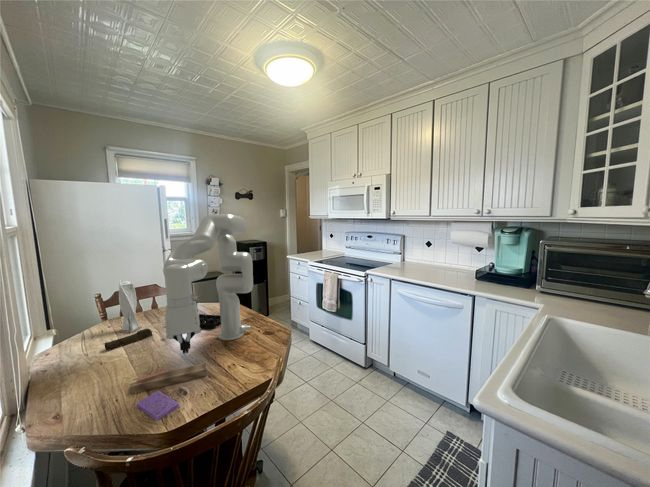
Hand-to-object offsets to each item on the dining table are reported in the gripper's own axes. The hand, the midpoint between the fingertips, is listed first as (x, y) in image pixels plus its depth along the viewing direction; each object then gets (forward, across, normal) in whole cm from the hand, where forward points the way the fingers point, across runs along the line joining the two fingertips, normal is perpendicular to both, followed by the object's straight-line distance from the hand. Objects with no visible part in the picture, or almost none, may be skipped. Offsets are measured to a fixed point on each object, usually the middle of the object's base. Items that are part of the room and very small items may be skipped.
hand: (185, 351), depth 92 cm
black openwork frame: (+17, -1, -61) cm, 64 cm away
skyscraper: (+17, +32, -69) cm, 77 cm away
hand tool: (+16, +28, -51) cm, 61 cm away
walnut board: (+15, +7, -8) cm, 18 cm away
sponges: (+15, +9, +5) cm, 18 cm away
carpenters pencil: (+12, +13, -9) cm, 20 cm away
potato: (+18, +5, -81) cm, 83 cm away
